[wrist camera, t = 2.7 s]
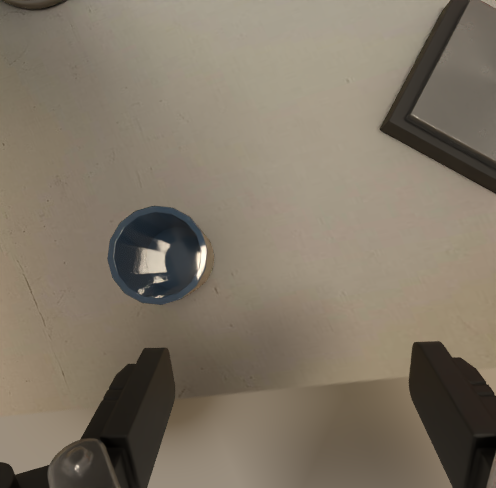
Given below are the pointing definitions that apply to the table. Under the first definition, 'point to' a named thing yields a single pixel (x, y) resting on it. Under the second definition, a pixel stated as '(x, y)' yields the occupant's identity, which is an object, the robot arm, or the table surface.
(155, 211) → the cup
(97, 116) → the table surface
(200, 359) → the table surface
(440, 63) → the scale
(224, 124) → the table surface
